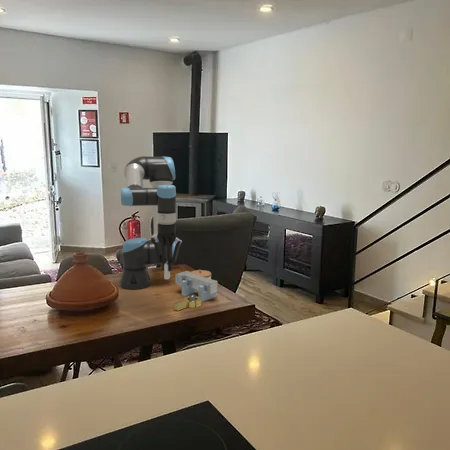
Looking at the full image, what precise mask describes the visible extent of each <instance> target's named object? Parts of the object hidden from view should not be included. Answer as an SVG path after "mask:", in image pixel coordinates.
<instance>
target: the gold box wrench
mask: <svg viewBox="0 0 450 450" xmlns="http://www.w3.org/2000/svg"><path fill="white" fill-rule="evenodd" d="M199 307H202V302H201V297H198V296H197V295H196V300H195V301H190V300H189V295H186V296H183V300H182V301H180V302H178V303H174V304H173V310H174V311H180V310H184V309H186V308H188V309H196V308H199Z"/></svg>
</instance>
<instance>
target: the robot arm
mask: <svg viewBox="0 0 450 450" xmlns="http://www.w3.org/2000/svg"><path fill="white" fill-rule="evenodd" d="M124 177H125V179H126V181H125V187H121V189H120V202H121V205H122V206H127V207H138V206H140V207H141V206H143V207H144V206H146V207H147V206H152V211H153V212H152V213H153V216H152V217H153V234H152V235H151V236H150V240H147V238H146V237H134V238H130V239H127V240H125V241H124V242H123V244H122V250H121V251H122V268H123V269H122V274H121V277H120V280H119V286H120V288H123V289H126V290H141V289H146V288H148V287H150V286H151V284H152V283H151V282H152V280H151V277H150V274H149V272H148V271H149V270H148V267H147V266H148V265H161V269H162V271H163V275H164V278H163V279H164V280H169V279H170V278H171V272H172V271H173V264H175V263H176V262H177V260H178V256H179V252H180V247H181V244H182V243H183V239H180V238H178V236H177V224H176V222H177V210H176V208H177V205H176V204H177V192H176V191H177V190H176V186H175V185H173V182H174V181H175V179H176V169H175V163H174V160H173V158H172V157H170V156H163V155H162V156H161V155H160V156H144V155H143V156H138V157H135V158H133V159H131V160H130V161H129V162H128V163H126V166H125V167H124ZM144 180H146V181H149V184H150V185H151V187H144V183H143V182H144Z"/></svg>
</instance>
